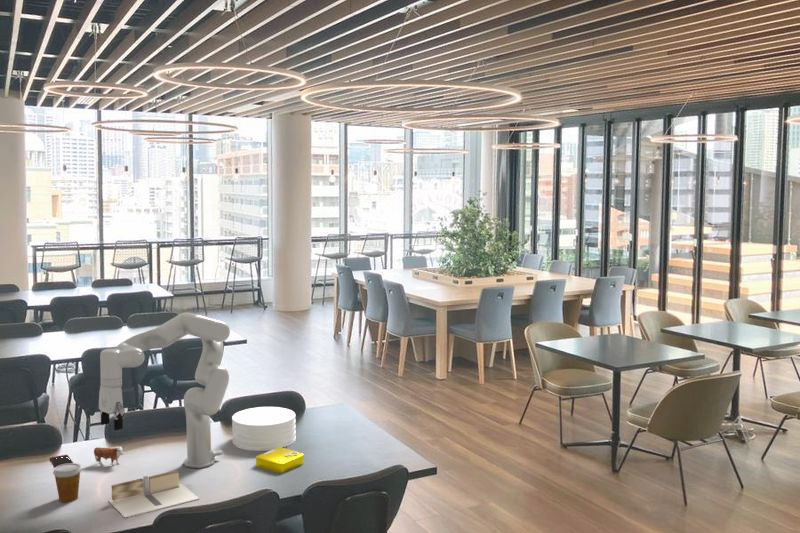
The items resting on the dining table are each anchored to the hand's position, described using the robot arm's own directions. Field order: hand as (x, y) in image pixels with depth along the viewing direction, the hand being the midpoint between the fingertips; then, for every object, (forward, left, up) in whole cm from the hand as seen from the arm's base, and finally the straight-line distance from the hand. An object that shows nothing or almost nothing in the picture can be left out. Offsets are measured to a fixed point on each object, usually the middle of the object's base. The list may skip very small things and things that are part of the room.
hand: (111, 426), depth 297 cm
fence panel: (-1, +14, -23) cm, 27 cm away
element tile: (-62, +15, -25) cm, 69 cm away
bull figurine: (-6, -26, -24) cm, 36 cm away
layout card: (-8, +20, -24) cm, 33 cm away
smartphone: (+9, -41, -25) cm, 48 cm away
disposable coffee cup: (+17, 0, -24) cm, 29 cm away
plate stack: (-71, -16, -24) cm, 77 cm away
